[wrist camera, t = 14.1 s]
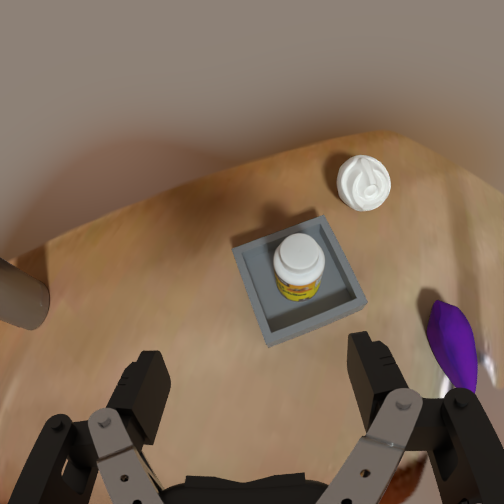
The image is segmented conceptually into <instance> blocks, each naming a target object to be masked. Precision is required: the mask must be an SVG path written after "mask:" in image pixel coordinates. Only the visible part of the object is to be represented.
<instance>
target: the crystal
mask: <svg viewBox="0 0 504 504" xmlns="http://www.w3.org/2000/svg"><path fill="white" fill-rule="evenodd" d="M427 337H428V340H429V343H430V346H431V349H432V351H433V353H434V355H435V357H436V359H437V361H438V363H439V365H440V366H441V368H442V369H443V371H444V372H445V374H446V375H447V377H448V378H449V379H450V381H451V382H452V383H453V384H454V386H455V387H456V388H466V389H469V390H471V391H472V392H474V393H475V391H476V384H477V355H476V348H475V342H474V336H473V332H472V329H471V326H470V324H469V322H468V320H467V319H466V317H465V316H464V314H463V313H462V312H461V310H460V309H459V308H458V307H456V306H453V305H450V304H448V303H445V302H442V301H439V300H436V301H435V303H434V304H433V307H432V311H431V315H430V319H429V322H428V326H427Z"/></svg>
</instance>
